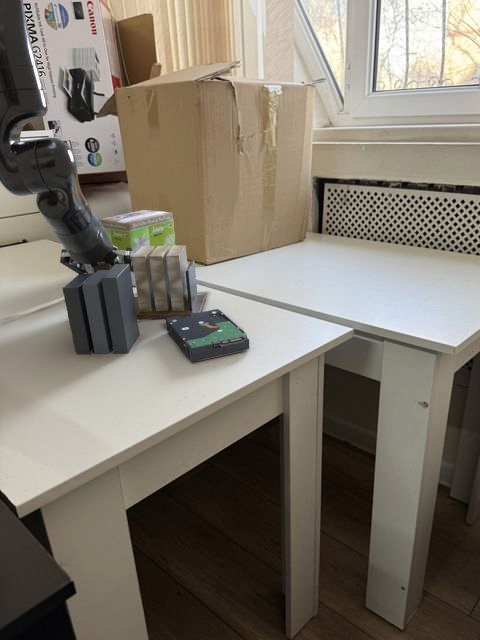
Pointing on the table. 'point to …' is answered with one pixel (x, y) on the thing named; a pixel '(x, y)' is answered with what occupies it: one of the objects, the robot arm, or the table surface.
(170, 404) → the table surface
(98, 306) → the grey books
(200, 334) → the disk drive
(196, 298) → the stone tile rack
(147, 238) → the tea box
